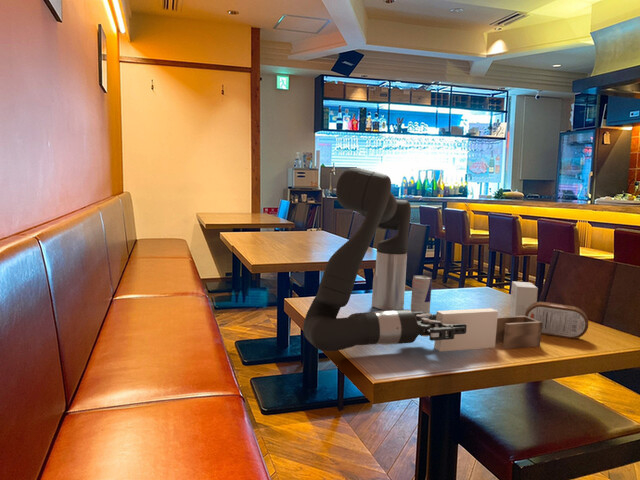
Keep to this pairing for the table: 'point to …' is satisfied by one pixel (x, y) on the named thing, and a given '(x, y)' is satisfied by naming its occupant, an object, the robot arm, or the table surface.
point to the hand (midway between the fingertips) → (455, 323)
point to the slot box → (518, 331)
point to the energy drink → (421, 294)
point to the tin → (559, 319)
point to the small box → (522, 297)
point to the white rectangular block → (469, 329)
